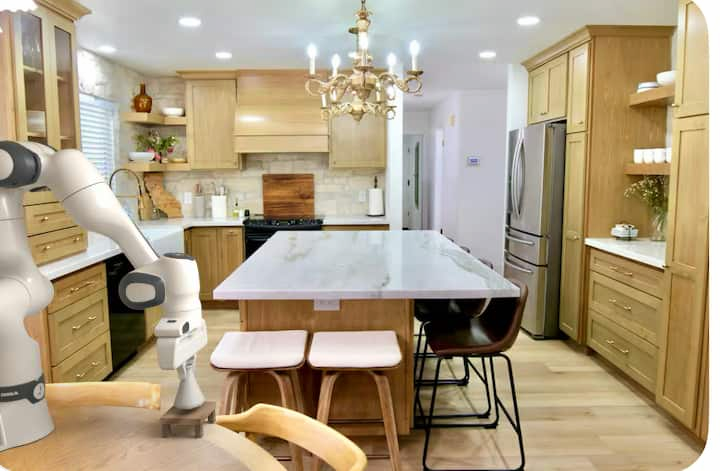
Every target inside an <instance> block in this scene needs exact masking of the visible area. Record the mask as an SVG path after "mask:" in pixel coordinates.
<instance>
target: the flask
mask: <svg viewBox="0 0 720 471" xmlns="http://www.w3.org/2000/svg"><path fill="white" fill-rule="evenodd" d="M193 366H194V363H187V362H186V365H185V369H186V370H188V377H187V378H185V379H180V381H179V385H178V389H177V392H176V396H175V398H174V401H173V405H172V406H174V407H176V408H178V409H192V408H195V407H198V406H200V405H202V404H203V403H204V402H205V401H207V400H206V397H205V396H204V393H203V392H202V390H201V388H200V386H199V383H198V381H197V380H196V377H195V373H194V372H195V371H194V372H193Z"/></svg>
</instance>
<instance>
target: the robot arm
mask: <svg viewBox="0 0 720 471" xmlns="http://www.w3.org/2000/svg"><path fill="white" fill-rule="evenodd" d="M46 188H49V190H51V191H52V192H53V194H54V195H55V197H56V199H57V201H58V202H59V203H60V205H61V206H62V208H63V210H64V212H65V213H66V215H67V216H68V217H69V218H70V220H72V221H73V223H75V224H76V225H77V226H78V227H79V228H81V229H82V230H85V231H88V232H92V233H95V234H99V235H102V236H104V237H106V238H108V239H110V240H112V241H113V242H114V243H115V244H116V245H117V246H118V247H119V248H120V250H121V251H122V253H123V254H124V255H125V257H126V258H127V259H128V261H129V262H130V263H131V265H132V266H133V268H134V270H132V271H130V272H128V273H127V274H125V275H124V276H123V277H122V278H121V280H120V282H119V284H118V295H119V297H120V300H121V301H122V303H123V304H124V305H125V306H126V307H128V308H129V309H132V310H135V311H138V310H139V311H140V310H147V309H150V308H154V307H158V306H160V307H161V308H162V316H161V318H160V320H158V321H159V322H158V323H157V324H156V325H155V327H154V336H155V337H157V339H156V353H157V354H156V355H157V356H156V357H157V364H158V367H159V368H160V370H162V371H175V370H176V372H177V376H178V379H179V380H181V379H185V378H187V377H188V370H186V369H185V365H186V363H194V366H193V372H196V366H195V364H196V360H197V353H198V352H200V351H201V350H202V349H203V348H205V347H206V346H207V344H208V339H209V338H208V337H209V336H208V330H207V329H208V328H207V324H206V320H205V319H204V318H203V310H202V304H201V300H200V292H201V291H200V290H201V285H200V284H201V283H200V275H199V270H198V269H199V268H198V264H197V261H196V259H195V258H194V257H193V256H192V255H189V253H183V252H165V253H164V254H162V255H161V256H159V254H158V253H157V252H156V251H155V249H154V247H152V245H151V244H150V242H149V241H148V239H147V238H146V236H145V235H144V234H143V233H142V231H141V229H140V228H139V227H138V226H137V225H136V224H135V222H134V220H133V219H132V218H131V217H130V216H129V214H128V213H127V211H126V210H125V209H124V208H123V206H122V204H121V203H120V202H119V199H118V198H117V197H116V195H115V194H114V192H113V191H112V189H111V187H110V186H109V184H108V182H107V181H106V179H105V178H104V176H103V175H102V174H101V172H100V171H99V169H98V168H97V167H96V165H94V163H93V162H92V161H91V160H90V158H88V157H87V155H85V154H84V153H83V152H82V151H80V150H78V149H77V148H64V149H60V150H58V149H57V148H55V147H53V146H51V145H49V144H46V143H40V142H35V141H30V140H19V141H18V140H16V141H15V140H14V141H13V140H9V139H8V140H0V452H2V451H5V450H9V449H11V448H15V447H20V446H23V445H27V444H30V443H34V442H36V441H38V440H40V439H42V438H43V439H44V438H45V437H47V436H48V435H49V434H51V433H52V432H53V431H54V430H55V427H56V425H55V423H54V420H53V419H52V416H51V413H50V411H49V406H48V404H47V400H46V399H47V398H46V379H45V373H44V372H43V370H42V369H43V368H42V358H41V357H42V356H41V350H40V349H41V348H40V344H39V342H38V341H37V340H36V339H34V338H33V337H30V335H29V334H28V332H27V330H26V327H25V323H24V322H25V321H24V320H25V319H27V318H30V317H32V316H35V315H37V314H39V313H41V312H42V311H43V310H44V309H45V308H46V307H48V306H49V305H50V304H51V302H52V301H53V299H54V295H55V288H54V285H53V283H52V281H51V280H50V279H49V278H48V277H47V276H45V275H44V274H43V273H42V272H41V271H40V269H39V268H38V266H37V264H36V262H35V260H34V257H33V255H32V252H31V249H30V246H29V238H28V232H27V224H26V218H25V212H24V207H23V205H24V204H23V200H24V197H25V195H26V193H28V192H30V193H35V192H38V191H40V190H43V189H46Z"/></svg>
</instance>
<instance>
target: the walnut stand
mask: <svg viewBox="0 0 720 471" xmlns="http://www.w3.org/2000/svg"><path fill="white" fill-rule="evenodd" d="M216 408H217V402H216V401H207V400H206V401H205V402H204V403H203V404H202V405H200V406H198V407H195V408H192V409H178V408H176V407H174V406H173V405H172V406H171V407H170V408H169V409H168V410H167V411H166V412H165V413H164V414H162V415H161V416H160V417H159V424H160V425H161V432H162V438H163V439H169V438H170V437H171V436H172V425H185V426H187V425H189V426H192V425H193V430H194V431H193V432H194V439H197V438H201V439H202V438H203V437H204V422H205V421H206V420H207V424H210V425H211V424H212V425H213V424H215V423H216V421H217V419H216V417H217V416H216ZM202 436H203V437H202Z"/></svg>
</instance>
